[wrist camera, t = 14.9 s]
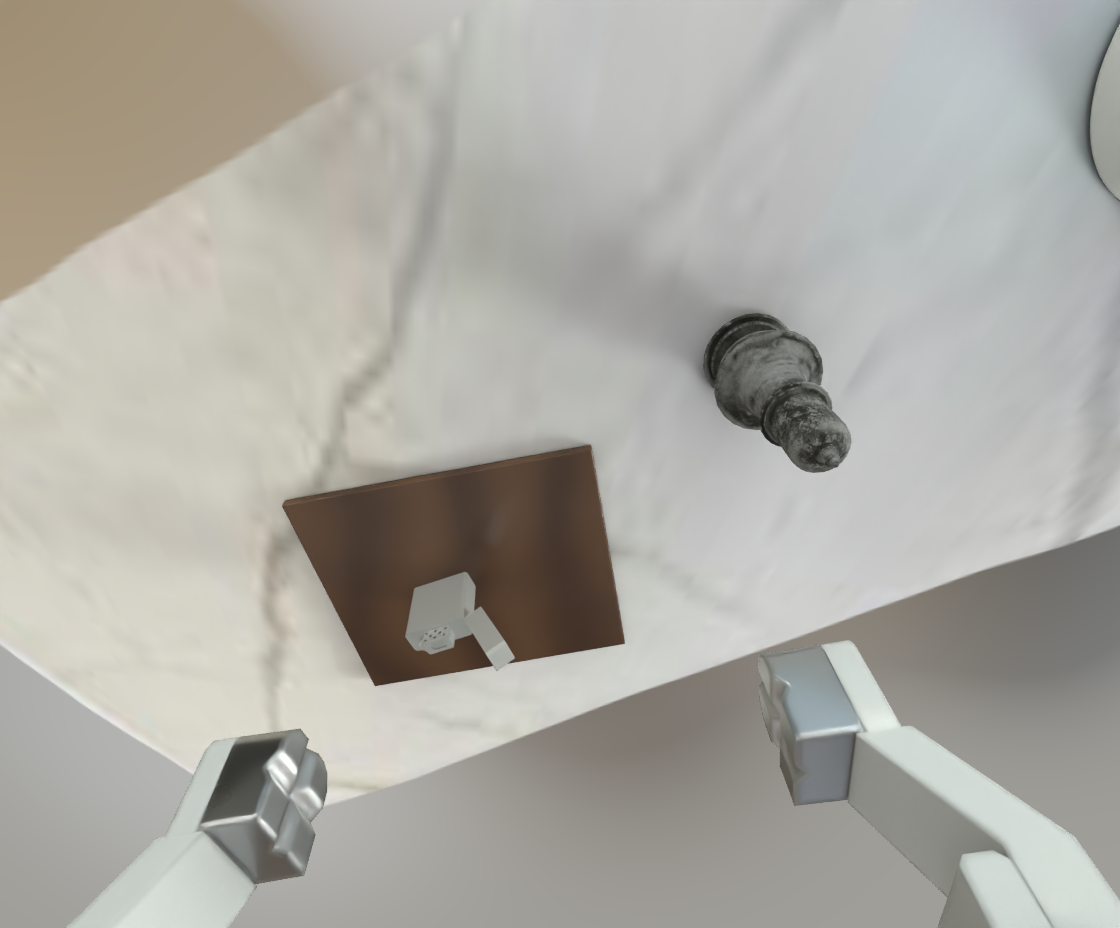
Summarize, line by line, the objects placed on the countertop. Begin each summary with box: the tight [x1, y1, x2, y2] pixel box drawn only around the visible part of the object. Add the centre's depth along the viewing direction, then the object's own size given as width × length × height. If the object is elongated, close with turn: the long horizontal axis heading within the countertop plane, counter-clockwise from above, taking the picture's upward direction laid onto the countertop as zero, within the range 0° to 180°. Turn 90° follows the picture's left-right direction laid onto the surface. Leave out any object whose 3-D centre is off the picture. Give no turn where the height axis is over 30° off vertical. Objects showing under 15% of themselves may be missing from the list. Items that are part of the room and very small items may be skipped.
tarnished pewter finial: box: [704, 314, 851, 473], centre depth 32 cm, size 6×6×12 cm
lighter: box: [405, 572, 515, 671], centre depth 41 cm, size 7×2×8 cm, turn 110°
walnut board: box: [282, 445, 625, 686], centre depth 44 cm, size 20×18×1 cm
